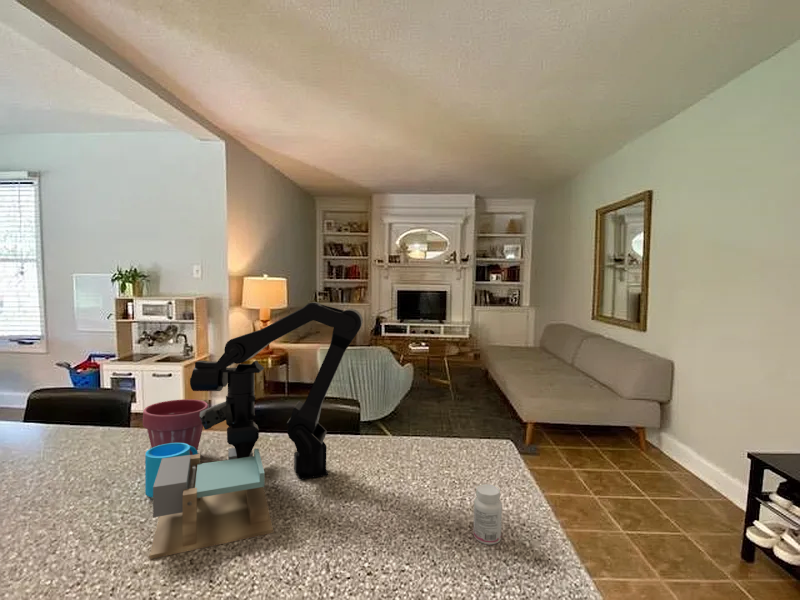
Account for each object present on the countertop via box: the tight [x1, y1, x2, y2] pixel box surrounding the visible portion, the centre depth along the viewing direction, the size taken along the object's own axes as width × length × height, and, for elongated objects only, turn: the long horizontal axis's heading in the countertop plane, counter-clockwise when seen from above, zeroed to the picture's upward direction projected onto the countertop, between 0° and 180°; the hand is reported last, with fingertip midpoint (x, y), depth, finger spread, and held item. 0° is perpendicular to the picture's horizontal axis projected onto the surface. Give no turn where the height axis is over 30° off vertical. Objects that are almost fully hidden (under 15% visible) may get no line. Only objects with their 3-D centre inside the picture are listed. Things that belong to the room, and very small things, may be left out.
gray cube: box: [227, 447, 254, 460], centre depth 95 cm, size 5×5×5 cm
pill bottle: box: [473, 483, 503, 546], centre depth 72 cm, size 5×5×8 cm
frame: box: [149, 453, 274, 560], centre depth 77 cm, size 18×18×9 cm
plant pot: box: [142, 398, 209, 455], centre depth 102 cm, size 14×14×13 cm
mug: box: [144, 443, 199, 499], centre depth 89 cm, size 12×8×8 cm
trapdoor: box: [152, 448, 266, 518], centre depth 76 cm, size 17×12×5 cm
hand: (240, 458), depth 95 cm, fingers open, 9 cm apart
